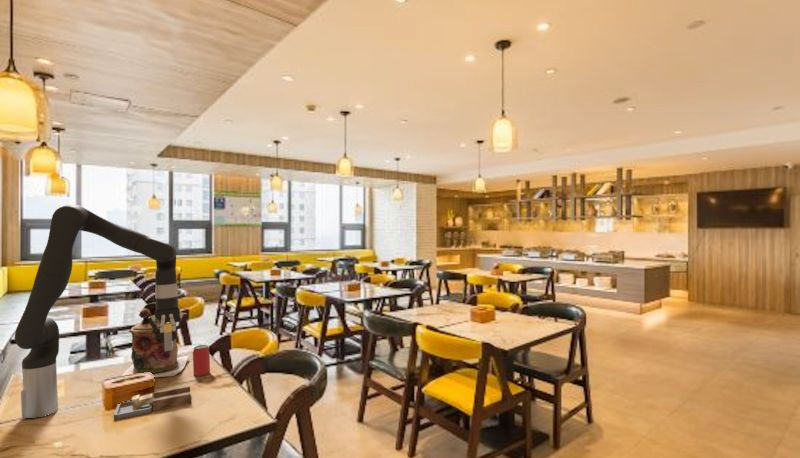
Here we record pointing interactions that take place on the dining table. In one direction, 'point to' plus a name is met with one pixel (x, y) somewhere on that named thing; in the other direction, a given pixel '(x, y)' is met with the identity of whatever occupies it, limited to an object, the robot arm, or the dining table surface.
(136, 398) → the chip
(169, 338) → the scraper
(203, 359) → the beer can
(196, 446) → the dining table surface
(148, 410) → the tray
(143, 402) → the chip
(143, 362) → the cookie jar
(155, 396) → the slot block
